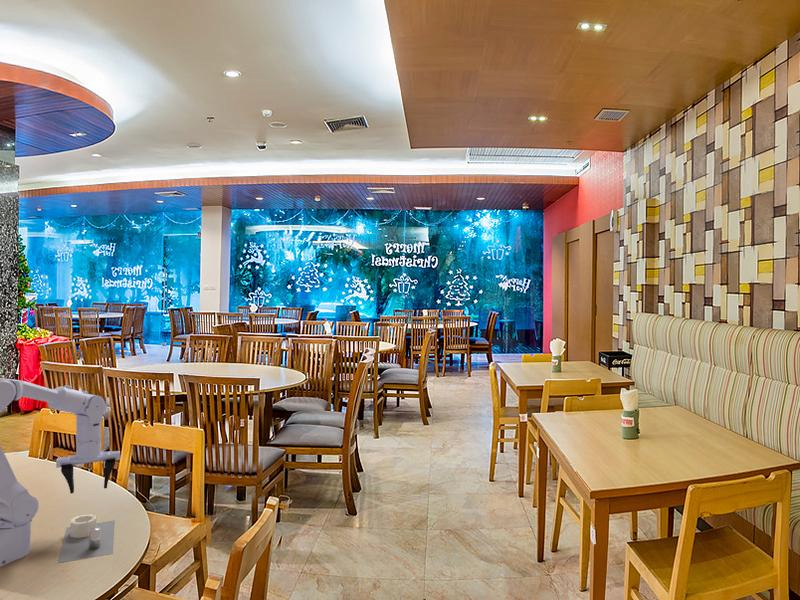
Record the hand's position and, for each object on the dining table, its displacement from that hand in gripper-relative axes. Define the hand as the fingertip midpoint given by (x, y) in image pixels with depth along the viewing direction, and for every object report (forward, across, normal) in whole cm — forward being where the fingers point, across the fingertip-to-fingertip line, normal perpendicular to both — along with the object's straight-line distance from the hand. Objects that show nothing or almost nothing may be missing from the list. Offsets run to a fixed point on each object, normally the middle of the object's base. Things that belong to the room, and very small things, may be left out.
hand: (89, 489), depth 139 cm
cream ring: (+9, +1, +6) cm, 11 cm away
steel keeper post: (+9, -2, +16) cm, 18 cm away
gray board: (+10, 0, +11) cm, 15 cm away
